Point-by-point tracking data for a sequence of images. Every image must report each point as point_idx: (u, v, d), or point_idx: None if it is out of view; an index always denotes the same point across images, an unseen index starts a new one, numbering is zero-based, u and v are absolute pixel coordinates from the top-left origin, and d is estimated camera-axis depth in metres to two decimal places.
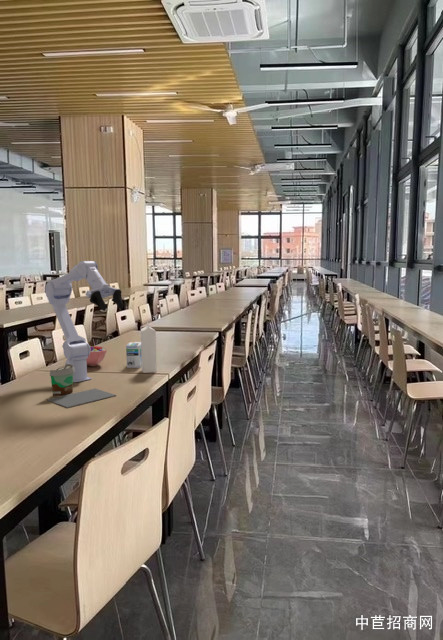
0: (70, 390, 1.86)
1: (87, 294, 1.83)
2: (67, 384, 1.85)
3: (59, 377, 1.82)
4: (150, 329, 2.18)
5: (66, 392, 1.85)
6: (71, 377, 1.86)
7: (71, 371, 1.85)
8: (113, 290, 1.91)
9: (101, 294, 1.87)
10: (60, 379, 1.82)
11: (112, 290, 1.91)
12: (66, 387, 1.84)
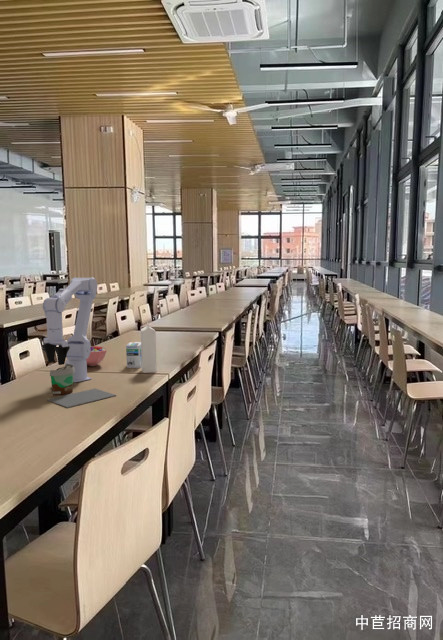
0: (70, 390, 1.86)
1: None
2: (67, 384, 1.85)
3: (59, 377, 1.82)
4: (150, 329, 2.18)
5: (66, 392, 1.85)
6: (71, 377, 1.86)
7: (71, 371, 1.85)
8: None
9: (52, 344, 1.91)
10: (60, 379, 1.82)
11: None
12: (66, 387, 1.84)
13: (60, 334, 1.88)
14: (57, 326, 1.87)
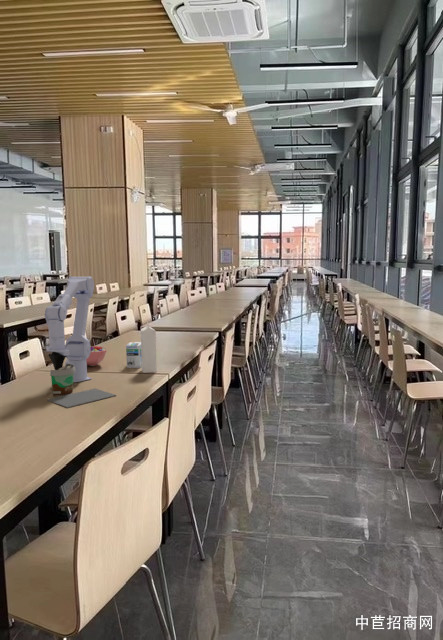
0: (70, 390, 1.86)
1: None
2: (67, 384, 1.85)
3: (59, 377, 1.82)
4: (150, 329, 2.18)
5: (66, 392, 1.85)
6: (71, 377, 1.86)
7: (72, 371, 1.85)
8: None
9: None
10: (60, 379, 1.82)
11: (59, 351, 1.86)
12: (66, 387, 1.84)
13: (62, 342, 1.87)
14: (59, 334, 1.86)
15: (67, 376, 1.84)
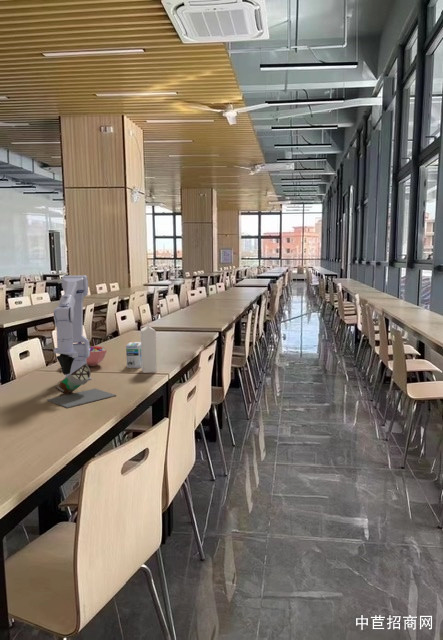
0: (72, 391, 1.86)
1: None
2: (73, 388, 1.84)
3: (72, 383, 1.80)
4: (150, 329, 2.18)
5: (68, 392, 1.84)
6: (81, 384, 1.85)
7: (85, 382, 1.83)
8: None
9: None
10: (72, 384, 1.81)
11: None
12: (71, 390, 1.84)
13: (70, 344, 1.83)
14: (69, 336, 1.83)
15: (79, 384, 1.82)
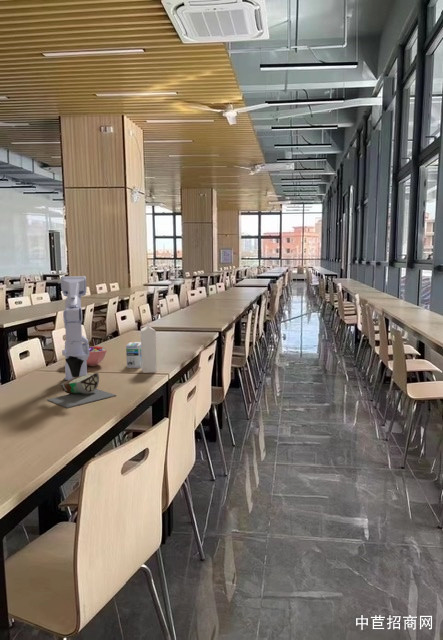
0: None
1: None
2: (76, 392, 1.84)
3: (78, 389, 1.80)
4: (150, 329, 2.18)
5: (69, 393, 1.84)
6: None
7: (89, 393, 1.83)
8: None
9: None
10: (77, 390, 1.81)
11: None
12: (73, 392, 1.84)
13: (79, 346, 1.79)
14: (80, 337, 1.79)
15: None
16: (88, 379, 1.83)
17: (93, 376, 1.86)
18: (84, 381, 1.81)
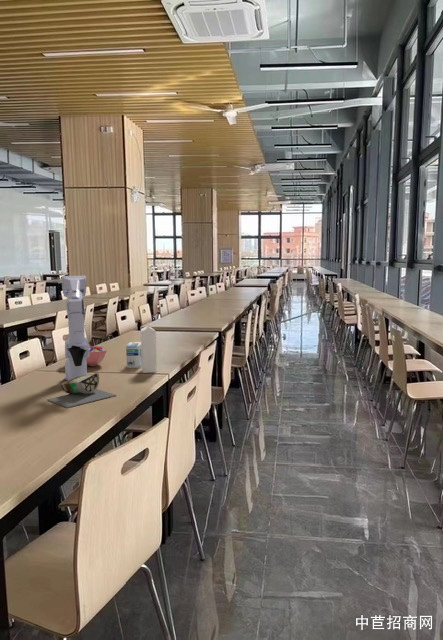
0: None
1: None
2: (76, 392, 1.84)
3: None
4: (150, 329, 2.18)
5: (69, 393, 1.84)
6: None
7: (89, 393, 1.83)
8: None
9: None
10: (77, 390, 1.81)
11: None
12: (73, 392, 1.84)
13: (82, 336, 1.84)
14: (82, 328, 1.84)
15: None
16: (88, 379, 1.83)
17: (93, 376, 1.86)
18: (84, 381, 1.81)
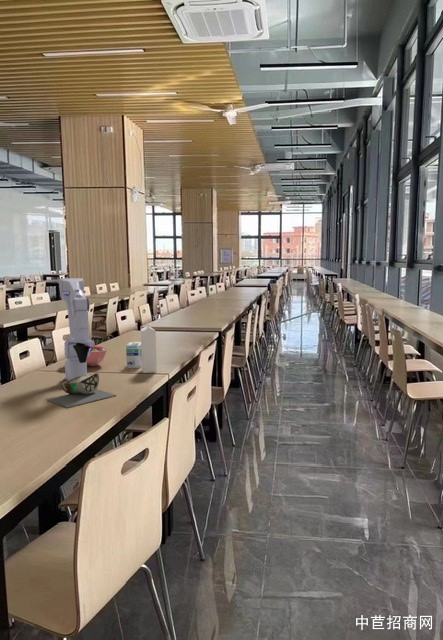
0: None
1: None
2: (76, 392, 1.84)
3: None
4: (150, 329, 2.18)
5: (69, 393, 1.84)
6: None
7: (89, 393, 1.83)
8: (85, 342, 1.88)
9: None
10: (77, 390, 1.81)
11: (84, 342, 1.88)
12: (73, 392, 1.84)
13: (86, 333, 1.90)
14: (87, 325, 1.90)
15: None
16: (88, 379, 1.83)
17: (93, 376, 1.86)
18: (84, 381, 1.81)
